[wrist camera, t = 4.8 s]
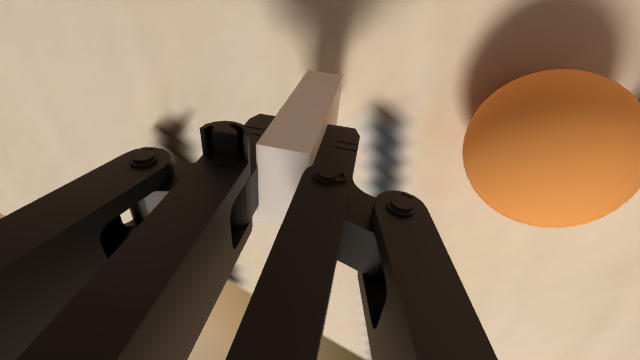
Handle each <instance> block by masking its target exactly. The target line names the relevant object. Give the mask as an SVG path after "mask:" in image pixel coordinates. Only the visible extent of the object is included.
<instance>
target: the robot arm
mask: <svg viewBox="0 0 640 360" xmlns="http://www.w3.org/2000/svg"><path fill="white" fill-rule="evenodd" d="M342 79H343V75H337V74H330V73H324V72H317V71H311V70H308V71H307V72H306V74H305V75H304V77H303V78H302V79H301V81H300V82H299V84H298V85H297V87H296V88H295V89H294V91H293V92H292V94H291V95H290V97H289V98H288V99H287V101H286V102H285V104H284V105H283V106H282V108H281V109H280V111H279V112H278V114H277V115H276V116H271V115H265V114H258V115H256V116H254V117H252V118H250V119H249V120H248V121H247V122H246V124H245V125H242V124H240V123H237V122H233V121H217V122H212V123H208V124H205V125H204V126H202V127H201V128H200V134H201V142H202V149H203V155H202V156H201V158H200V159H199V160H198V161H197V162H196V163H172V159H171V156H170V154H169V152H167V151H165V150H164V149H159V148H154V147H150V148H149V147H144V148H140V149H135V150H132V151H130V152H127V153H125V154H123V155H121V156H119V157H117V158H115V159H113V160H112V161H110V162H108V163H106V164H104V165H102V166H100V167H98V168H96V169H94V170H92V171H91V172H89V173H87V174H85V175H83V176H81V177H79V178H77V179H75V180H73V181H72V182H70V183H68V184H66V185H64V186H62V187H60V188H58V189H56V190H54V191H53V192H51V193H49V194H47V195H45V196H43V197H41V198H39V199H37V200H35V201H33V202H32V203H30V204H28V205H26V206H24V207H22V208H20V209H18V210H16V211H14V212H13V213H11V214H9V215H7V216H5V217H3V218H1V219H0V360H187V359H188V357H189V355H190V353H191V351H192V349H193V347H194V345H195V343H196V341H197V339H198V337H199V335H200V333H201V331H202V329H203V327H204V325H205V323H206V321H207V319H208V317H209V315H210V313H211V311H212V309H213V307H214V305H215V303H216V301H217V299H218V297H219V295H220V293H221V291H222V289H223V287H224V285H225V283H226V281H227V279H228V277H229V275H230V273H231V271H232V269H233V267H234V265H235V263H236V261H237V259H238V257H239V255H240V253H241V251H242V249H243V247H244V245H245V243H246V241H247V239H248V237H249V235H250V233H251V231H252V226H253V224H252V216H253V214H254V212H255V211H256V209H257V212H258V220H262V221H267V222H272V223H277V224H282V225H281V227H280V229H279V232H278V234H277V237H276V239H275V241H274V244H273V246H272V249H271V251H270V253H269V256H268V258H267V261H266V263H265V266H264V268H263V270H262V273H261V275H260V278H259V280H258V282H257V285H256V287H255V290H254V292H253V295H252V297H251V299H250V302H249V304H248V307H247V309H246V311H245V314H244V316H243V319H242V321H241V324H240V326H239V328H238V331H237V333H236V336H235V338H234V340H233V343H232V345H231V348H230V350H229V352H228V355H227V357H226V360H318V356H319V350H320V345H321V340H322V335H323V330H324V324H325V319H326V314H327V309H328V304H329V298H330V293H331V288H332V283H333V278H334V272H335V267H336V263H337V260H338V261H340V262H342V263H344V264H346V265H348V266H350V267H352V268H354V269H356V270H357V271H358V281H359V287H360V292H361V298H362V304H363V310H364V315H365V321H366V327H367V333H368V338H369V344H370V350H371V356H372V360H498V359H497V357H496V355H495V353H494V350H493V348H492V346H491V344H490V342H489V340H488V338H487V336H486V333H485V331H484V329H483V327H482V325H481V323H480V321H479V318H478V316H477V314H476V312H475V310H474V308H473V306H472V303H471V301H470V299H469V297H468V295H467V293H466V291H465V289H464V286H463V284H462V282H461V280H460V278H459V276H458V274H457V271H456V269H455V267H454V265H453V263H452V261H451V259H450V256H449V254H448V252H447V250H446V248H445V246H444V244H443V242H442V239H441V237H440V235H439V233H438V231H437V229H436V227H435V224H434V222H433V220H432V218H431V216H430V214H429V212H428V209H427V208H426V206H425V205H424V204H423V202H422V201H421V200H419V199H418V198H416V197H415V196H413V195H411V194H408V193H406V192H401V191H385V192H383V193H381V194H379V195H378V196H377V197H376V198H375V197H373V196H370V195H368V194H366V193H364V192H363V191H361V190H360V189H359V188H358V187H357V186H356V185H355V184H354V181H353V172H354V166H355V161H356V155H357V150H358V144H359V139H360V136H359V134H358V132H357V131H356V129H354V128H348V127H342V126H336V124H337V116H338V109H339V101H340V94H341V86H342ZM129 208H130V211H131V214H132V217H133V220H131V221H130V222H128V223H126V224H123V223H122V220H121V217H120V214H122V213H123V212H125V211H126V210H128V209H129Z"/></svg>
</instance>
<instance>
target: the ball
mask: <svg viewBox="0 0 640 360" xmlns="http://www.w3.org/2000/svg"><path fill="white" fill-rule="evenodd" d="M463 163H464V168H465V171H466V174H467V177H468V179H469V181H470V183H471V185H472V187H473V189H474V190H475V191H476V193H477V194H478V195H479V197H480V198H481V199H482V200H483V201H484V202H485V203H486V204H487V205H489V206H490V207H491V208H493V209H494V210H495V211H497V212H498V213H500V214H502V215H504V216H505V217H507V218H509V219H512V220H514V221H517V222H520V223H524V224H527V225H531V226H537V227H549V228H561V227H571V226H576V225H581V224H585V223H588V222H591V221H594V220H597V219H600V218H602V217H604V216H606V215H608V214H610V213H611V212H613V211H615V210H616V209H618V208H619V207H620V206H622V205H623V204H624V203H626V202H627V201H628V200H629V199H630V198H631V197H632V196H633V195H634V194H635V193H636V192H637V191H638V190H639V188H640V102H639V101H638V99H637V98H636V97H635V96H634V95H633V94H632V93H631V92H629V91H628V90H627V89H626V88H624V87H623V86H621V85H620V84H618V83H617V82H615V81H613V80H611V79H609V78H607V77H604V76H601V75H598V74H595V73H591V72H588V71H582V70H576V69H553V70H545V71H539V72H535V73H531V74H528V75H525V76H523V77H520V78H518V79H515V80H513V81H511V82H509V83H508V84H506V85H504V86H502V87H501V88H499V89H498V90H497V91H495V92H494V93H493V94H492V95H491V96H489V97H488V98H487V99H486V100H485V101H484V102H483V103H482V104H481V106H480V107H479V108H478V109H477V111H476V112H475V114H474V115H473V117H472V119H471V121H470V123H469V125H468V127H467V130H466V133H465V137H464V143H463Z"/></svg>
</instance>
